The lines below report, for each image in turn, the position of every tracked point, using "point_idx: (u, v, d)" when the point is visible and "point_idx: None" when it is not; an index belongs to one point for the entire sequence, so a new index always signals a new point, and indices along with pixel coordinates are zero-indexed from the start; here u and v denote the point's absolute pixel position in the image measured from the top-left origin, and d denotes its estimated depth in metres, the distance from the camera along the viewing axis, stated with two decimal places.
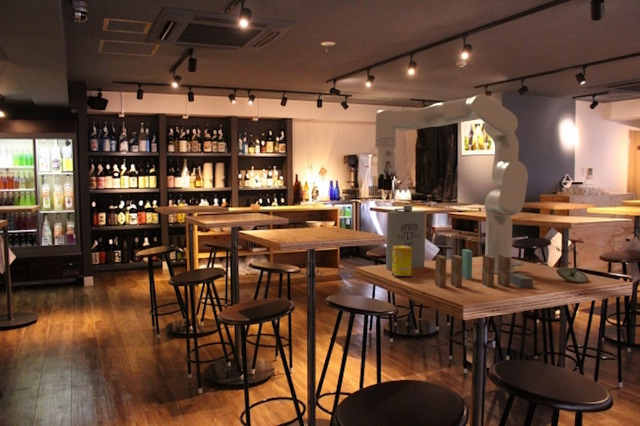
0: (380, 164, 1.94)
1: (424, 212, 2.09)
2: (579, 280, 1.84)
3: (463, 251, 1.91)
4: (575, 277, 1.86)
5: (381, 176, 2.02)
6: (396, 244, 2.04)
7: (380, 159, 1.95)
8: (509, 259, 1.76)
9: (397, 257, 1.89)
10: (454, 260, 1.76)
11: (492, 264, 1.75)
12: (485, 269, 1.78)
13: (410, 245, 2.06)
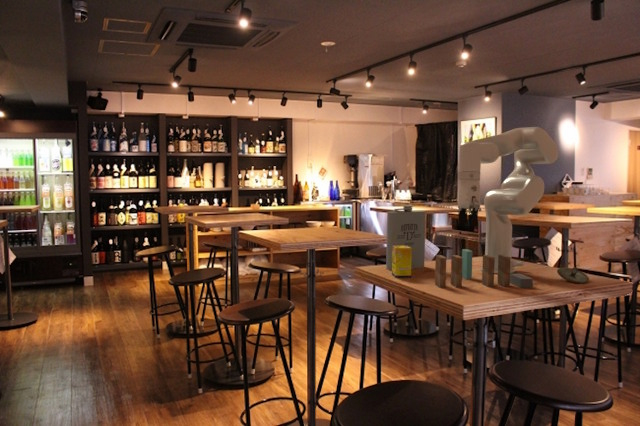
0: (464, 198, 1.86)
1: (424, 212, 2.09)
2: (580, 280, 1.83)
3: (463, 251, 1.91)
4: (576, 277, 1.86)
5: (462, 210, 1.94)
6: (396, 244, 2.04)
7: (464, 193, 1.86)
8: (509, 259, 1.76)
9: (397, 257, 1.89)
10: (454, 260, 1.76)
11: (492, 264, 1.75)
12: (485, 269, 1.78)
13: (410, 245, 2.06)
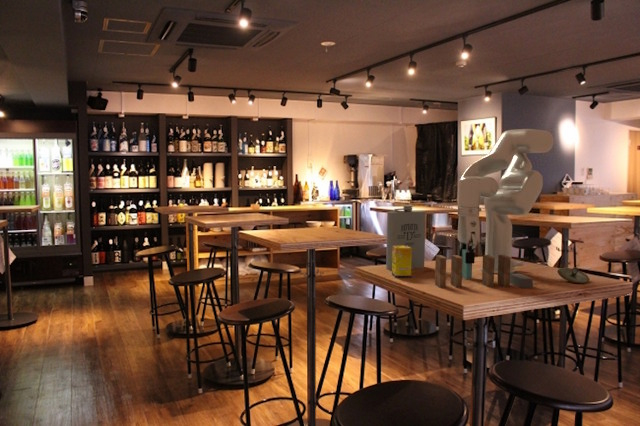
0: (464, 233, 1.87)
1: (424, 212, 2.09)
2: (580, 280, 1.83)
3: (463, 251, 1.91)
4: (576, 277, 1.86)
5: (463, 247, 1.93)
6: (396, 244, 2.04)
7: (463, 228, 1.87)
8: (509, 259, 1.76)
9: (397, 257, 1.89)
10: (454, 260, 1.76)
11: (492, 264, 1.75)
12: (485, 269, 1.78)
13: (410, 245, 2.06)
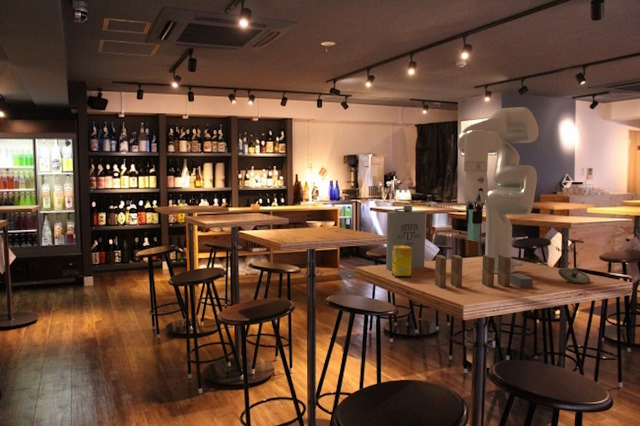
0: (471, 191, 1.73)
1: (424, 212, 2.09)
2: (581, 281, 1.82)
3: (470, 211, 1.77)
4: (577, 278, 1.85)
5: (470, 207, 1.79)
6: (396, 244, 2.04)
7: (470, 185, 1.73)
8: (509, 259, 1.76)
9: (397, 257, 1.89)
10: (454, 260, 1.76)
11: (492, 264, 1.75)
12: (485, 269, 1.78)
13: (410, 245, 2.06)
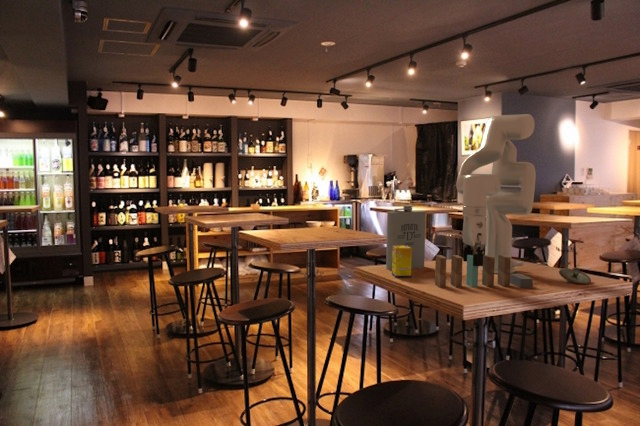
0: (469, 235, 1.74)
1: (424, 212, 2.09)
2: (582, 281, 1.82)
3: (468, 257, 1.78)
4: (578, 278, 1.84)
5: (467, 247, 1.81)
6: (396, 244, 2.04)
7: (469, 229, 1.74)
8: (509, 259, 1.76)
9: (397, 257, 1.89)
10: (454, 260, 1.76)
11: (492, 264, 1.75)
12: (485, 269, 1.78)
13: (410, 245, 2.06)
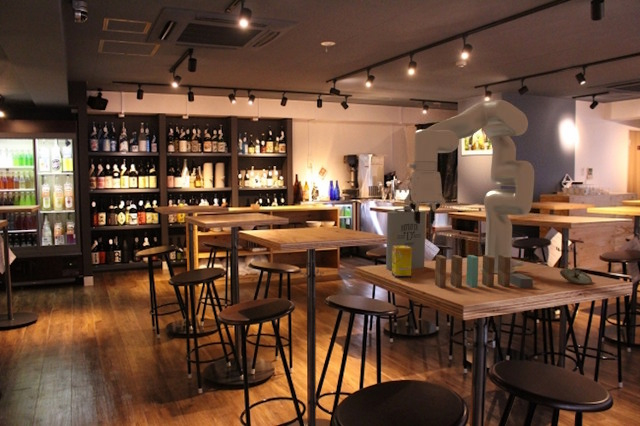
0: None
1: (424, 212, 2.09)
2: (583, 282, 1.81)
3: (468, 257, 1.78)
4: (579, 279, 1.84)
5: (431, 208, 1.74)
6: (396, 244, 2.04)
7: None
8: (509, 259, 1.76)
9: (397, 257, 1.89)
10: (454, 260, 1.76)
11: (492, 264, 1.75)
12: (485, 269, 1.78)
13: (410, 245, 2.06)
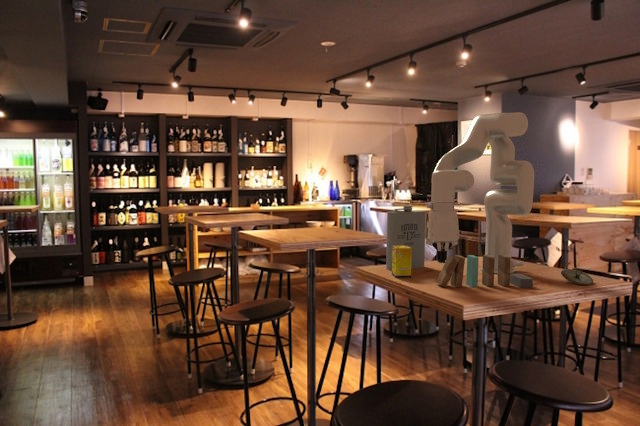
0: None
1: (424, 212, 2.09)
2: (584, 282, 1.80)
3: (468, 257, 1.78)
4: (580, 279, 1.83)
5: (443, 247, 1.76)
6: (396, 244, 2.04)
7: None
8: (509, 259, 1.76)
9: (397, 257, 1.89)
10: None
11: (492, 264, 1.75)
12: (485, 269, 1.78)
13: (410, 245, 2.06)
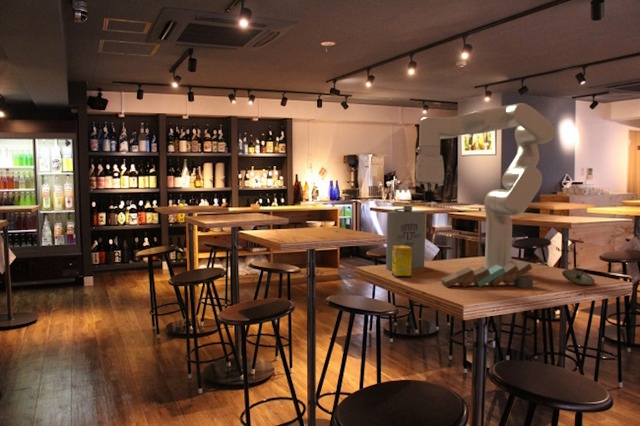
0: None
1: (424, 212, 2.09)
2: (586, 282, 1.80)
3: (497, 266, 1.79)
4: (581, 279, 1.82)
5: (430, 188, 1.93)
6: (396, 244, 2.04)
7: None
8: (530, 269, 1.76)
9: (397, 257, 1.89)
10: (482, 269, 1.77)
11: (512, 272, 1.76)
12: None
13: (410, 245, 2.06)
